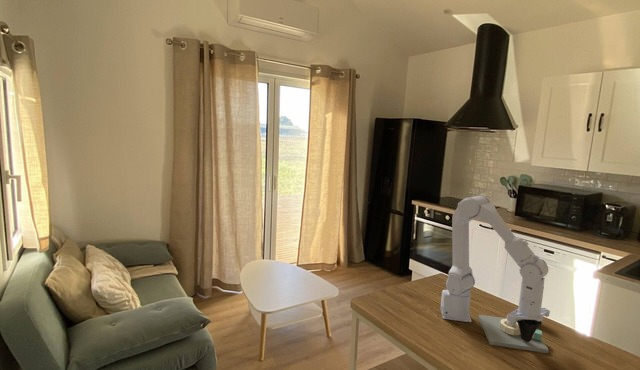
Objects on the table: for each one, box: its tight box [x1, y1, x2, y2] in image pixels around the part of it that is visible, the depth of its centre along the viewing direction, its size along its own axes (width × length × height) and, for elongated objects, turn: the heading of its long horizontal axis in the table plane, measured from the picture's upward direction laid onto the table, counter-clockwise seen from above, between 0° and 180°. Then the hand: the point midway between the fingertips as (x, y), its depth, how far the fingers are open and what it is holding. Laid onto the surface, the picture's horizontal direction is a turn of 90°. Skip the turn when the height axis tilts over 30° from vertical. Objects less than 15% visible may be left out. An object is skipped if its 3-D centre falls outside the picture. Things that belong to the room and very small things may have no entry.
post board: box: [477, 314, 550, 354], centre depth 108 cm, size 16×16×6 cm
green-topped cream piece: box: [500, 319, 543, 341], centre depth 106 cm, size 11×6×2 cm, turn 56°
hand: (525, 339), depth 102 cm, fingers closed
